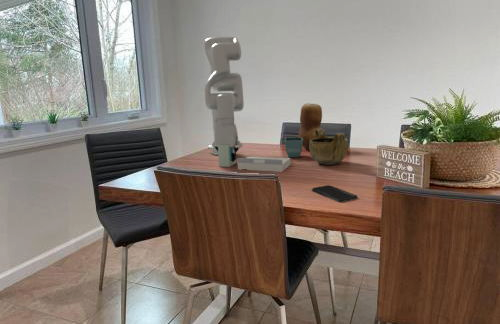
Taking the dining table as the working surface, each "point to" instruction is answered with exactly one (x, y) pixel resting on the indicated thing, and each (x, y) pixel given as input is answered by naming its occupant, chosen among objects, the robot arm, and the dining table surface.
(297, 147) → the flower pot
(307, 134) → the butternut squash
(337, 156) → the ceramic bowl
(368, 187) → the dining table surface
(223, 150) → the carton
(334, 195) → the phone
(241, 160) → the flat grey box
